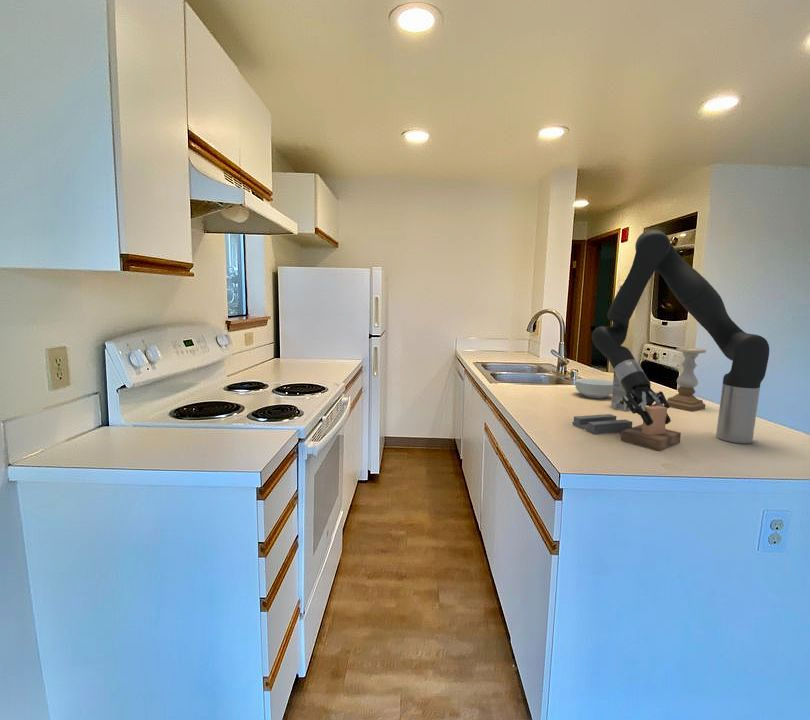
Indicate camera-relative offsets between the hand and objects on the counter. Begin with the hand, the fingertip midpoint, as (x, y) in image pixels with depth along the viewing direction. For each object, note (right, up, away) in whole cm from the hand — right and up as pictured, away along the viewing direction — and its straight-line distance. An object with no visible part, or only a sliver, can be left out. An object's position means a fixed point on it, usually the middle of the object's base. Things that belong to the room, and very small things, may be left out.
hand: (659, 423), depth 130 cm
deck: (0, -6, +4) cm, 7 cm away
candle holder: (+39, -1, +49) cm, 63 cm away
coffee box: (+12, -1, +45) cm, 47 cm away
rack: (-9, -4, +17) cm, 20 cm away
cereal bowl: (+9, +2, +66) cm, 66 cm away
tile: (-1, -3, +2) cm, 4 cm away
